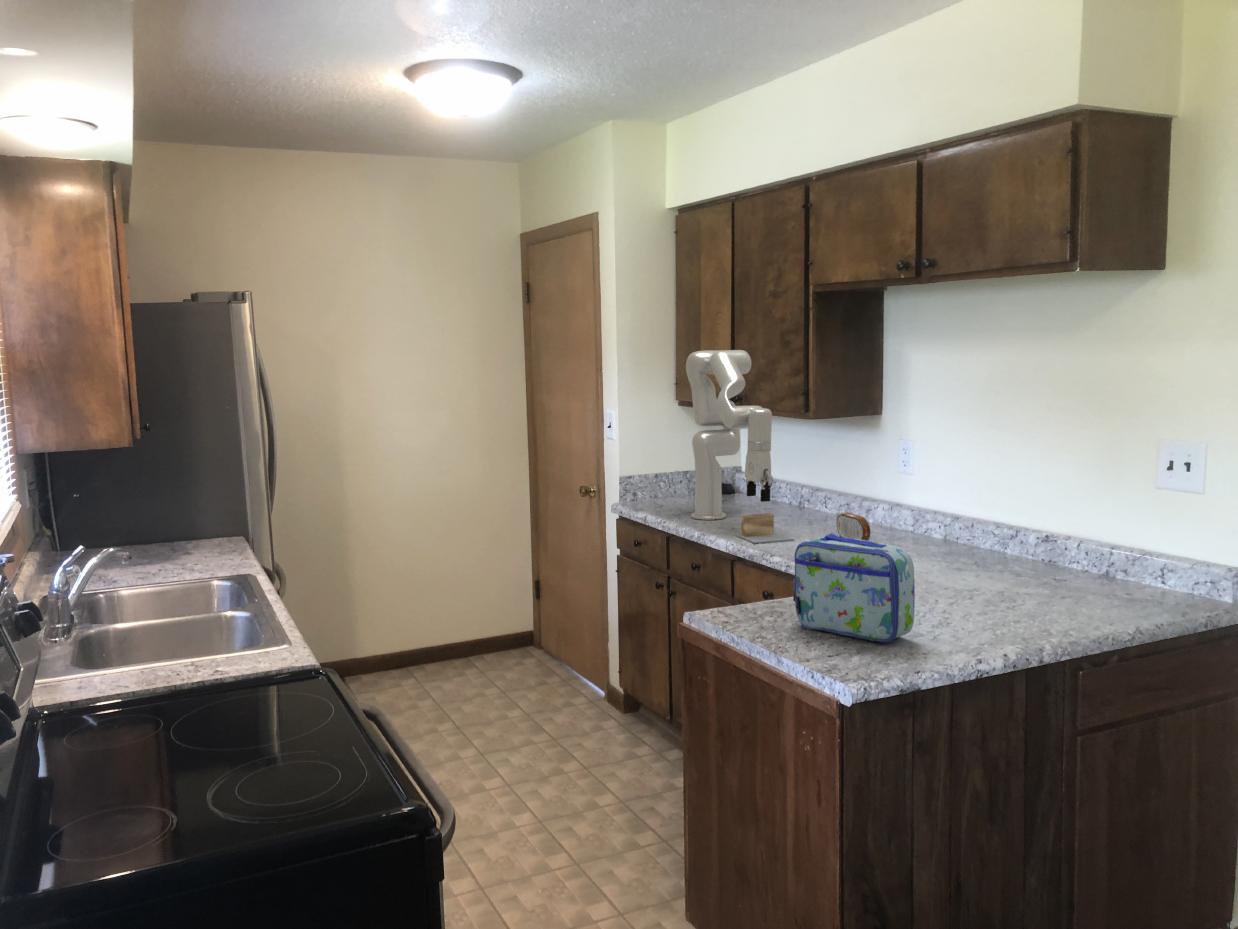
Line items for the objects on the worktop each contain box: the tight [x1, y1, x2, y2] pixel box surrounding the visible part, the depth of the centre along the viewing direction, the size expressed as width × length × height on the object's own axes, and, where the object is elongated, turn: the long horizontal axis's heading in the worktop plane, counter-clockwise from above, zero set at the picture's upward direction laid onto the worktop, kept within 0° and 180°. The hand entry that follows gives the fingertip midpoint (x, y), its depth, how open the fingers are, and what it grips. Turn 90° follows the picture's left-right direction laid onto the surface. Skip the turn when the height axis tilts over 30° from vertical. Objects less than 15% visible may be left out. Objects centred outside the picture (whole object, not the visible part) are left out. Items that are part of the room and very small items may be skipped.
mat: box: [733, 531, 795, 545], centre depth 310 cm, size 15×14×1 cm
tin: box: [836, 512, 871, 541], centre depth 304 cm, size 15×3×8 cm, turn 22°
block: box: [740, 512, 775, 537], centre depth 312 cm, size 4×10×6 cm, turn 109°
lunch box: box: [792, 532, 916, 644], centre depth 207 cm, size 26×11×21 cm, turn 44°
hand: (758, 498), depth 312 cm, fingers open, 9 cm apart
